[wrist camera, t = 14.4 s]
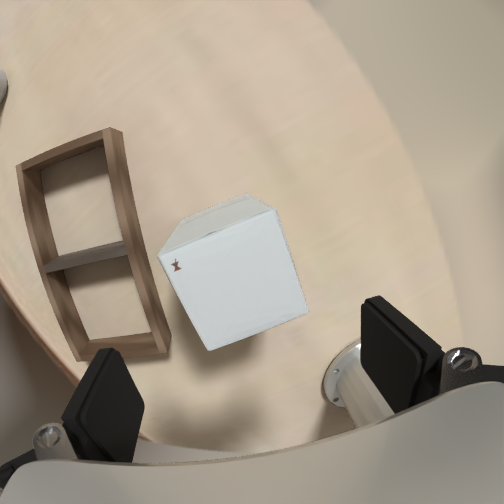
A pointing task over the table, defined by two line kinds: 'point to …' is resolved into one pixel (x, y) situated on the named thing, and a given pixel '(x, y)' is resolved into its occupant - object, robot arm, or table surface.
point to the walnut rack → (92, 250)
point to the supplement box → (233, 271)
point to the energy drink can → (3, 84)
